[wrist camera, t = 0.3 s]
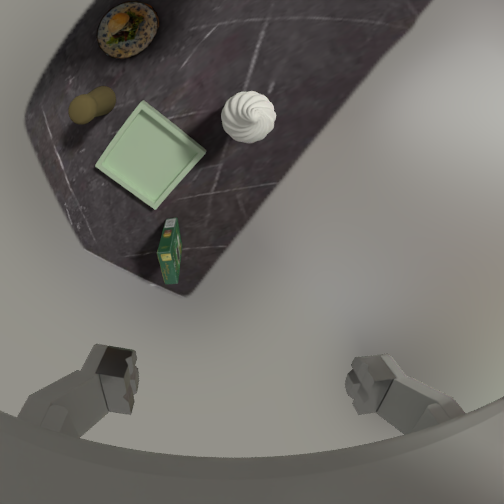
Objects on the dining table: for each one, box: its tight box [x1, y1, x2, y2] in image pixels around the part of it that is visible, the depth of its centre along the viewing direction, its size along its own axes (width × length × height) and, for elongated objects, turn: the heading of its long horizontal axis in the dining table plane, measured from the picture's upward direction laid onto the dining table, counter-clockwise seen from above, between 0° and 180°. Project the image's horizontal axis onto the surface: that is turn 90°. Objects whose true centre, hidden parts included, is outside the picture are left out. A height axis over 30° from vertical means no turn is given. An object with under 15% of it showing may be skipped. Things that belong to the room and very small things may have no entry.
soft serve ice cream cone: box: [221, 91, 276, 143], centre depth 45 cm, size 8×8×16 cm
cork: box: [69, 86, 116, 124], centre depth 42 cm, size 6×6×11 cm
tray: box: [95, 100, 206, 210], centre depth 54 cm, size 16×16×2 cm
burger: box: [97, 1, 159, 59], centre depth 36 cm, size 12×12×8 cm
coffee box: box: [157, 218, 182, 284], centre depth 60 cm, size 8×3×13 cm, turn 1°
